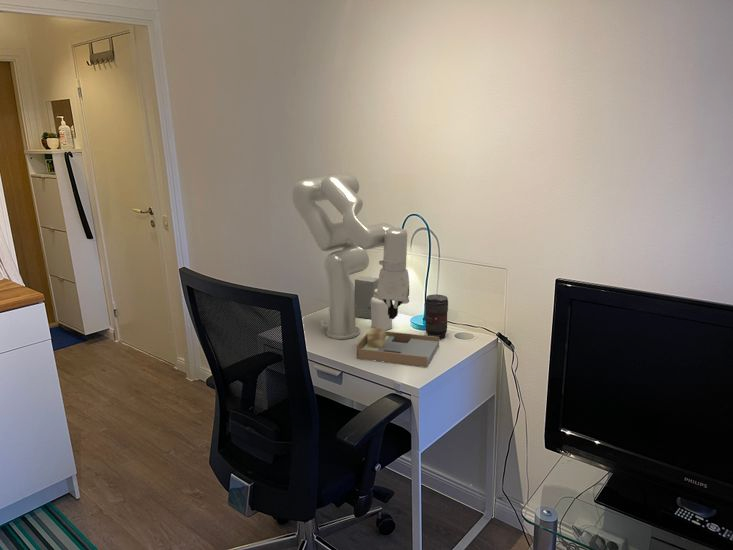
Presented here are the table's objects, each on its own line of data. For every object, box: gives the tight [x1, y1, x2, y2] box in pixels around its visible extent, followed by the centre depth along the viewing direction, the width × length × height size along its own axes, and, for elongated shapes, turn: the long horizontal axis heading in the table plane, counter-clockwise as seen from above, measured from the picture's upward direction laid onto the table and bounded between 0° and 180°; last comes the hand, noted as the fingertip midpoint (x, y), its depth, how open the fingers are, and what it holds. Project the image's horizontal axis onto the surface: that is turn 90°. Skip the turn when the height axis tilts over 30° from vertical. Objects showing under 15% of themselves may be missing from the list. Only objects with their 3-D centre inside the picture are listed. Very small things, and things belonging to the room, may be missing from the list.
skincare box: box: [354, 275, 379, 320], centre depth 227 cm, size 8×7×16 cm
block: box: [366, 327, 387, 348], centre depth 193 cm, size 5×5×5 cm
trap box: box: [355, 326, 440, 368], centre depth 192 cm, size 24×18×5 cm
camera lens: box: [424, 294, 449, 340], centre depth 204 cm, size 8×8×15 cm
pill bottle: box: [370, 289, 393, 331], centre depth 214 cm, size 8×8×15 cm
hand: (392, 317), depth 190 cm, fingers closed
